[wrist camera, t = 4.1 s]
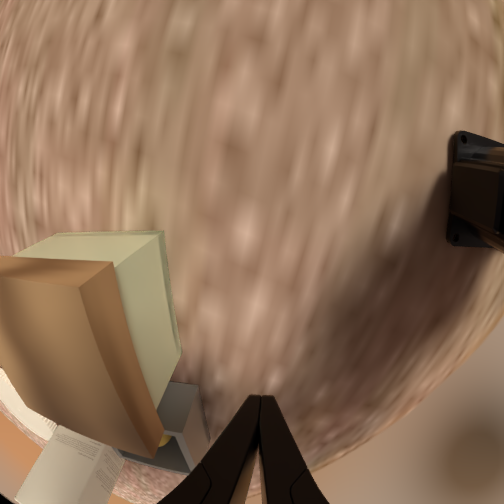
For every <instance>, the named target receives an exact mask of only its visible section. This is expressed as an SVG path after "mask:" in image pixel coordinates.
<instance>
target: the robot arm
mask: <svg viewBox="0 0 504 504" xmlns="http://www.w3.org/2000/svg"><path fill="white" fill-rule="evenodd" d="M461 136H462V137H463V143H462V142H461ZM454 234H456V236H455V238H454V239H453V236H454ZM446 240H447V242H448V243H449V244H451V245H452V246H463V247H488V248H496V249H497V250H499V251H501V252H503V253H504V144H502V143H499V142H497V141H494V140H491V139H488V138H485V137H482V136H479V135H476V134H473V133H470V132H467V131H456V132H455V134H454V156H453V172H452V187H451V199H450V212H449V220H448V227H447V233H446ZM258 446H259V465H260V480H261V494H262V504H329V502H328V501H327V500H326V498H325V497H324V495H323V494H322V492H321V491H320V489H319V488H318V486H317V484H316V482H315V481H314V479H313V477H312V475H311V473H310V471H309V469H307V465H306V463H305V461H304V459H303V457H302V455H301V453H300V451H299V449H298V447H297V445H296V443H295V440H294V438H293V436H292V434H291V432H290V430H289V428H288V426H287V423H286V421H285V419H284V417H283V415H282V413H281V410H280V408H279V406H278V404H277V402H276V400H275V397H274V396H273V395H262V397H261V395H253V394H251V395H249V396H248V397H247V399H246V400H245V402H244V403H243V404H242V406H241V407H240V409H239V410H238V411H237V413H236V414H235V416H234V417H233V418H232V420H231V421H230V423H229V424H228V425H227V427H226V428H225V429H224V431H223V432H222V433H221V435H220V436H219V437H218V439H217V440H216V441H215V443H214V444H213V445H212V447H211V448H210V449H209V450H208V452H207V453H206V454H205V456H204V457H203V458H202V459H201V461H200V462H201V463H200V462H199V463H198V464H197V465H196V467H195V468H194V469H193V470H192V471H191V473H190V474H189V475H188V476H187V477H186V478H185V479H184V480H183V481H182V482H181V483H180V484H179V485H178V486H177V487H176V488H175V489H174V490H172V491H171V492H170V493H169V494H168V495H167V496H165V497H164V498H163V499H162V500H160V501H159V502H158V503H157V504H245V501H246V497H247V493H248V489H249V485H250V482H251V478H252V474H253V469H254V465H255V461H256V457H257V452H258ZM0 504H15V503H14V502H12V501H11V500H10V499H8V498H7V497H5V496H4V495H3V494H2V493H0Z"/></svg>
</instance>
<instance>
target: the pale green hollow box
mask: <svg viewBox="0 0 504 504" xmlns="http://www.w3.org/2000/svg"><path fill="white" fill-rule="evenodd" d="M12 257H30V258H49V259H69V260H91V261H113V264H114V270H115V275H116V280H117V284H118V289H119V293H120V298H121V302H122V306H123V310H124V314H125V318H126V322H127V325H128V329H129V332H130V336H131V339H132V343H133V346H134V349H135V353H136V356H137V359H138V362H139V365H140V368H141V371H142V374H143V377H144V380H145V382H146V385H147V388H148V391H149V393H150V396H151V398H152V401H153V404H154V406H155V409H156V410H157V407H158V405H159V403H160V401H161V398H162V396H163V394H164V392H165V389H166V387H167V385H168V383H169V381H170V378H171V376H172V374H173V372H174V370H175V367H176V365H177V363H178V361H179V359H180V356H181V354H182V349H181V344H180V339H179V333H178V328H177V322H176V316H175V310H174V304H173V298H172V291H171V285H170V278H169V270H168V262H167V254H166V246H165V236H164V231H108V232H68V233H57V234H55V235H52V236H50V237H48V238H46V239H44V240H42V241H40V242H38V243H36V244H34V245H32V246H30V247H28V248H26V249H24V250H22V251H20V252H18V253H17V254H15V255H13V256H12Z"/></svg>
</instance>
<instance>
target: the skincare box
mask: <svg viewBox="0 0 504 504" xmlns="http://www.w3.org/2000/svg"><path fill="white" fill-rule="evenodd" d="M124 463H125V459H123V458H120V457H119V456H118V455H117V454H116V453H115V451H114V450H113V449H112V447H111V446H109V445H106V444H103V443H101V442H98V441H95V440H93V439H90V438H88V437H86V436H83V435H81V434H79V433H76V432H74V431H72V430H70V429H67V428H65V427H63V426H61V425H59V426H58V427H57V429H56V430H55V432H54V433H53V435H52V437H51V438H50V440H49V441H48V443H47V444H46V446H45V448H44V449H43V451H42V453H41V454H40V456H39V457H38V459H37V461H36V462H35V464H34V466H33V467H32V469H31V471H30V472H29V474H28V476H27V477H26V479H25V481H24V483H23V485H22V486H21V488H20V490H19V491H18V493H17V495H16V496H15V497H14V498H15V500H16V501H17V502H19V503H20V504H107V503H108V500H109V498H110V496H111V493H112V491H113V488H114V486H115V484H116V481H117V479H118V476H119V474H120V472H121V469H122V467H123V465H124Z"/></svg>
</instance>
